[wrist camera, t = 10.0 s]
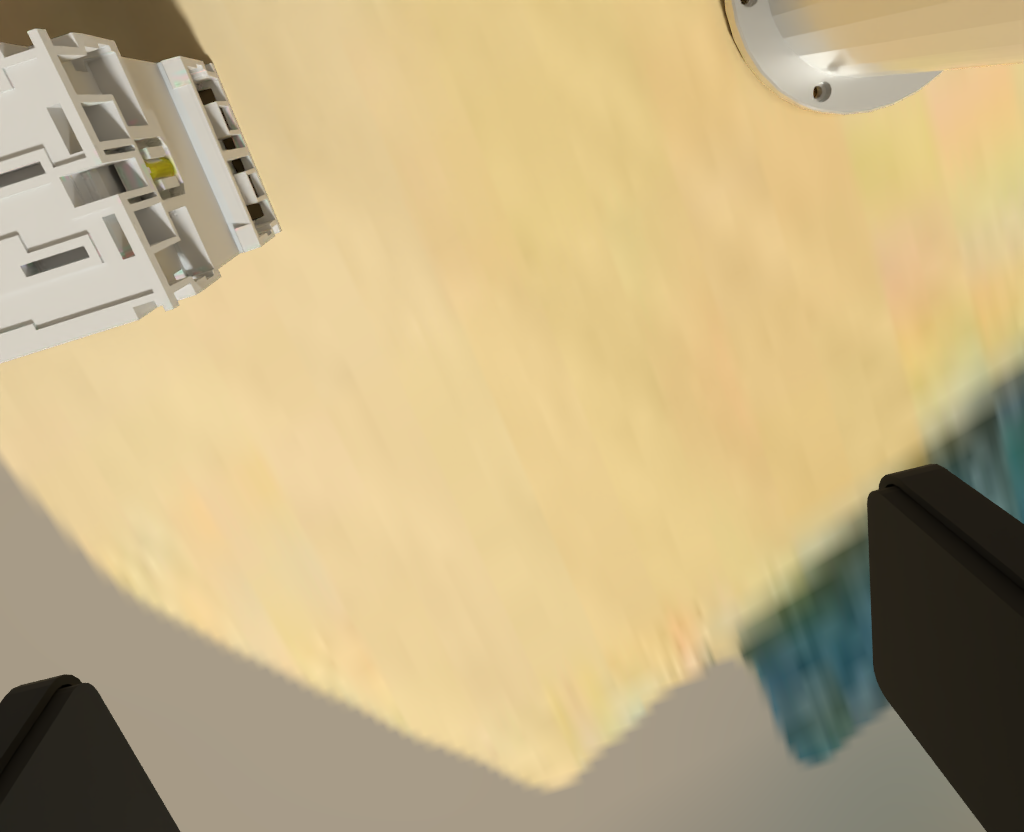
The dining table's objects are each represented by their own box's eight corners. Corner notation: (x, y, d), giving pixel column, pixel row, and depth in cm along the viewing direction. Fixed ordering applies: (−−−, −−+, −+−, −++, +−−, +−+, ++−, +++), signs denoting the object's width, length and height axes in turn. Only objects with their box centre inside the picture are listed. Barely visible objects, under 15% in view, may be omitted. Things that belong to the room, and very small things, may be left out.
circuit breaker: (-93, 162, 33) (-483, 197, 19) (213, 63, 32) (46, 25, 18) (0, 319, 35) (-278, 450, 22) (282, 230, 35) (182, 306, 21)
